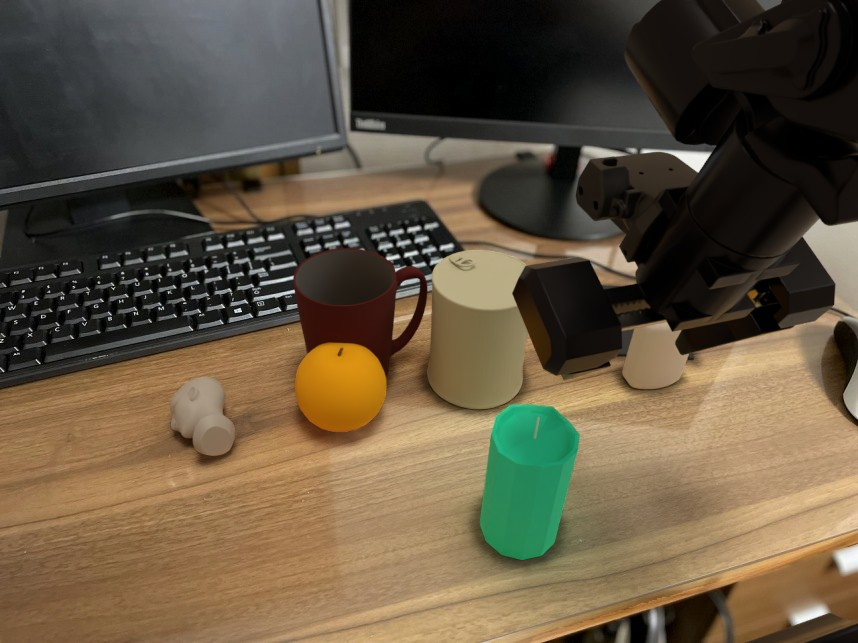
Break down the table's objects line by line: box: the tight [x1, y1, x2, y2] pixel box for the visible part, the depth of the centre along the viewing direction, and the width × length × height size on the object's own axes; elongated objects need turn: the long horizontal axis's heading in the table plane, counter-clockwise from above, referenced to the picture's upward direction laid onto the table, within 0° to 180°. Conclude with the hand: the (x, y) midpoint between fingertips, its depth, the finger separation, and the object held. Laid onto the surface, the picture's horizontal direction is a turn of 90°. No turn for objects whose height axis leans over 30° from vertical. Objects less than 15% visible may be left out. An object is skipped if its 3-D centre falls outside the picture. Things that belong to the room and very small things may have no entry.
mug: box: [292, 247, 429, 379], centre depth 62 cm, size 12×9×11 cm
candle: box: [479, 403, 581, 561], centre depth 48 cm, size 6×6×12 cm
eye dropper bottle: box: [621, 322, 689, 390], centre depth 62 cm, size 4×6×12 cm
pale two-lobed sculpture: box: [169, 376, 236, 457], centre depth 57 cm, size 4×8×5 cm
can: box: [426, 249, 529, 410], centre depth 61 cm, size 9×9×12 cm
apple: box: [294, 342, 387, 433], centre depth 58 cm, size 8×8×8 cm
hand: (622, 360), depth 46 cm, fingers open, 9 cm apart
